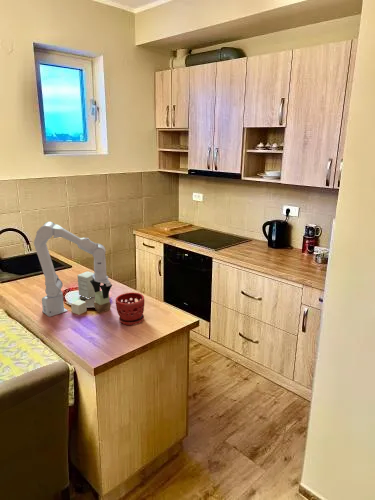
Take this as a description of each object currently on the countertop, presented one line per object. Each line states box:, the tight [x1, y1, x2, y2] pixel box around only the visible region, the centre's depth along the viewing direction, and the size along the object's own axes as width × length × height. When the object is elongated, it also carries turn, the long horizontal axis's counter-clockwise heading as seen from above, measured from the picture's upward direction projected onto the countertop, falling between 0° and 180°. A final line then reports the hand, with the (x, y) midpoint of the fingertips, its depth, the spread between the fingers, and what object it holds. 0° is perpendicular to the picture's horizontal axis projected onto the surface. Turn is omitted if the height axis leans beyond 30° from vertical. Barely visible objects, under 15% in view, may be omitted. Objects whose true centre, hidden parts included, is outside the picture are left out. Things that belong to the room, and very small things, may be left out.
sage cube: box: [94, 290, 110, 305], centre depth 180 cm, size 5×5×5 cm
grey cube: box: [70, 299, 88, 316], centre depth 178 cm, size 5×5×5 cm
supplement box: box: [76, 271, 95, 298], centre depth 195 cm, size 7×7×13 cm
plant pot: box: [115, 292, 145, 326], centre depth 168 cm, size 13×13×12 cm
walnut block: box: [93, 300, 111, 314], centre depth 181 cm, size 6×6×4 cm
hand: (101, 295), depth 180 cm, fingers open, 7 cm apart
